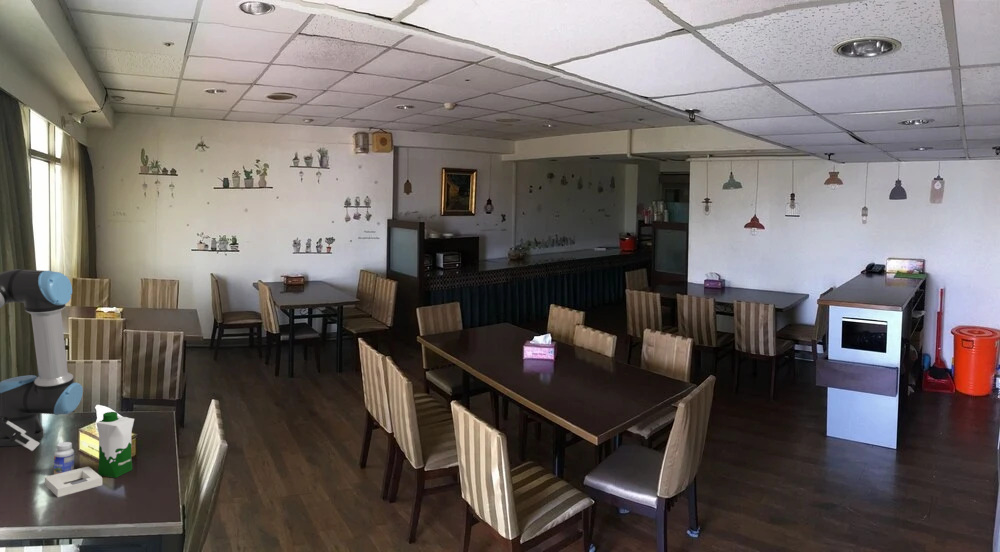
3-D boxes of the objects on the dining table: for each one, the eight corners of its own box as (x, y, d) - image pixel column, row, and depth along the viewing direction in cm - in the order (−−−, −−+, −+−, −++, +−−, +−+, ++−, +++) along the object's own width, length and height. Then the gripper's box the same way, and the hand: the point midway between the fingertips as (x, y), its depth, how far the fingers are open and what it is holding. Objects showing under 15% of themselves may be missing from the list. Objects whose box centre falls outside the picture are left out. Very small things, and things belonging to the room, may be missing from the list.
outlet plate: (44, 484, 191) (44, 476, 191) (88, 473, 201) (88, 465, 201) (57, 497, 184) (57, 488, 184) (102, 485, 194) (102, 477, 193)
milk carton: (114, 465, 208) (115, 408, 206) (137, 469, 206) (137, 412, 204) (92, 475, 200) (93, 416, 198) (116, 479, 198) (116, 420, 196)
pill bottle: (50, 473, 199) (50, 445, 198) (67, 467, 204) (67, 439, 203) (60, 477, 197) (60, 448, 196) (77, 471, 202) (77, 443, 201)
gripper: (-56, 404, 184) (7, 440, 197) (-36, 425, 169) (31, 462, 182) (-33, 384, 188) (27, 420, 201) (-11, 403, 172) (52, 441, 186)
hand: (29, 440), depth 191 cm, fingers open, 13 cm apart
